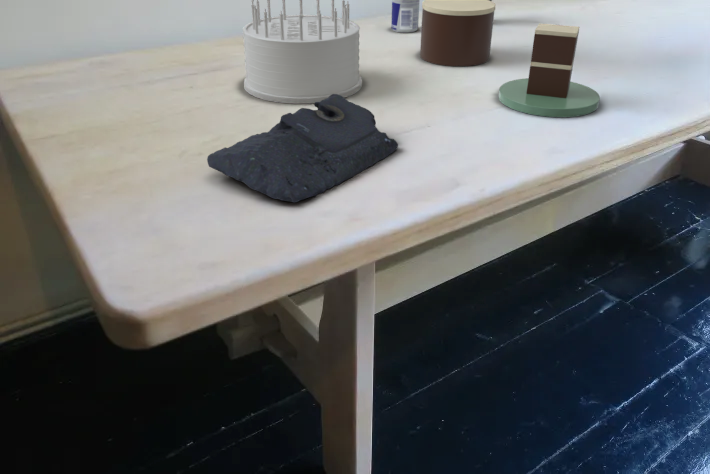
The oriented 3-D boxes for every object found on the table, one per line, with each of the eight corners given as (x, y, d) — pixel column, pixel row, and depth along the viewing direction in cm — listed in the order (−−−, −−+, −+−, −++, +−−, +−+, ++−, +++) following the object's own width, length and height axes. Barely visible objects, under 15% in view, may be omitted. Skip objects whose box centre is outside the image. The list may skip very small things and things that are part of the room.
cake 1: (366, 102, 95) (368, 5, 88) (239, 104, 94) (231, 6, 87) (357, 66, 110) (358, -18, 103) (248, 68, 109) (241, -17, 102)
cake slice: (568, 90, 96) (579, 26, 92) (566, 98, 93) (577, 33, 88) (530, 85, 98) (539, 23, 93) (526, 93, 95) (535, 29, 90)
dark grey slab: (186, 174, 73) (181, 134, 71) (311, 118, 89) (310, 83, 86) (292, 213, 66) (290, 169, 63) (409, 144, 81) (410, 107, 79)
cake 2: (495, 51, 119) (501, -1, 114) (482, 69, 109) (488, 13, 104) (429, 45, 123) (432, -6, 118) (410, 62, 113) (413, 7, 108)
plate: (601, 91, 99) (602, 83, 99) (595, 122, 88) (597, 114, 87) (507, 81, 104) (508, 73, 103) (490, 109, 92) (491, 101, 92)
